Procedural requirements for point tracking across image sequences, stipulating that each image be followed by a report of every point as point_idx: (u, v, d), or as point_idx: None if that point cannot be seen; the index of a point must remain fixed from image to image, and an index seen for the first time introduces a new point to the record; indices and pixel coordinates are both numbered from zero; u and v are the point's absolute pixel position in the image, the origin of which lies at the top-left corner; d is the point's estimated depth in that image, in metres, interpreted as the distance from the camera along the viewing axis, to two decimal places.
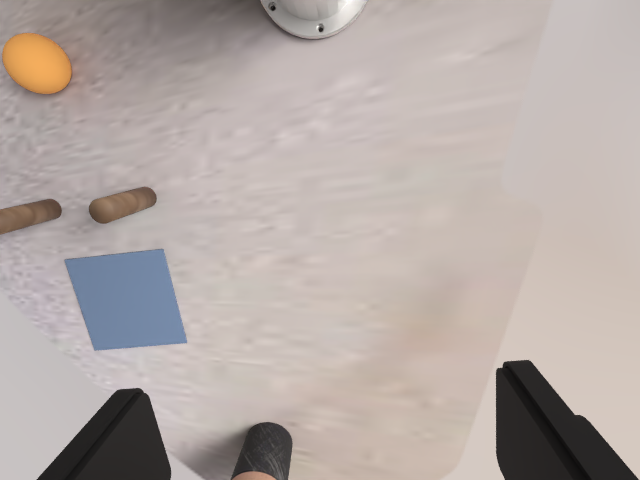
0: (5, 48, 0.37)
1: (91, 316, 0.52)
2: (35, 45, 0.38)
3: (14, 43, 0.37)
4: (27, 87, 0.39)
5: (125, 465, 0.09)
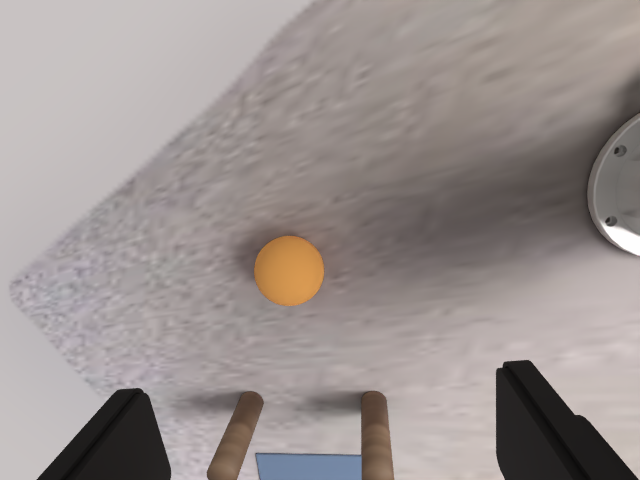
0: (268, 268, 0.29)
1: None
2: (306, 264, 0.29)
3: (283, 263, 0.29)
4: (279, 304, 0.31)
5: (125, 465, 0.09)
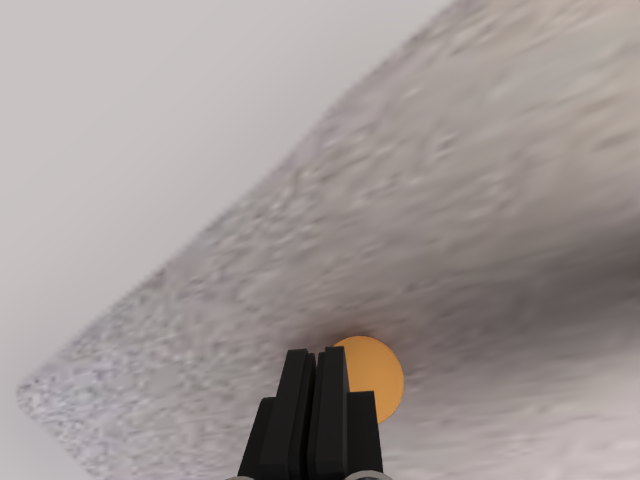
0: None
1: None
2: (388, 381, 0.24)
3: (362, 384, 0.23)
4: None
5: None
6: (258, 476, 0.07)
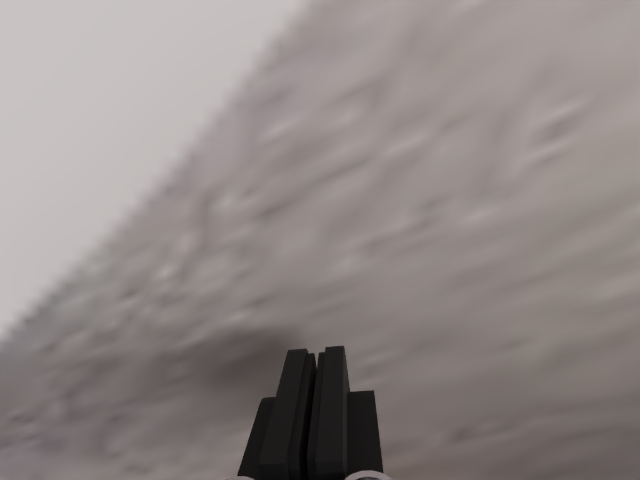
0: None
1: None
2: None
3: None
4: None
5: None
6: (258, 476, 0.07)
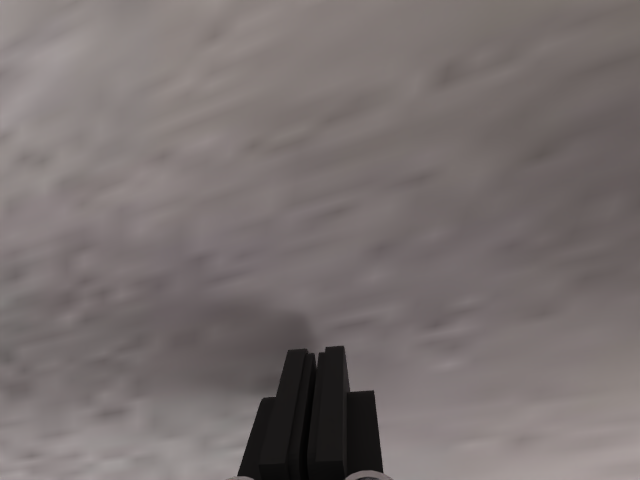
0: None
1: None
2: None
3: None
4: None
5: None
6: (258, 476, 0.07)
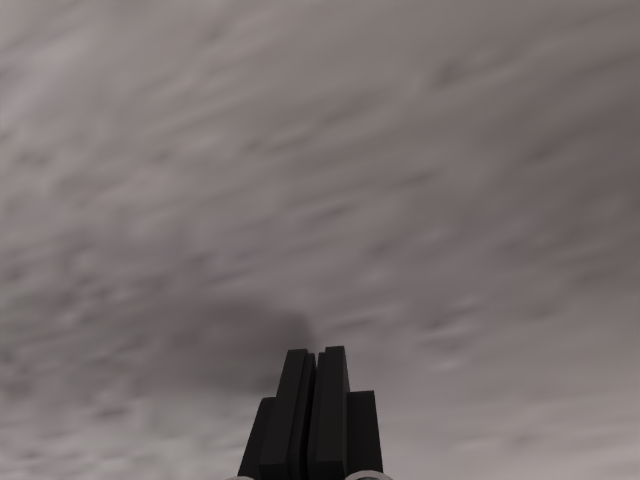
0: None
1: None
2: None
3: None
4: None
5: None
6: (258, 476, 0.07)
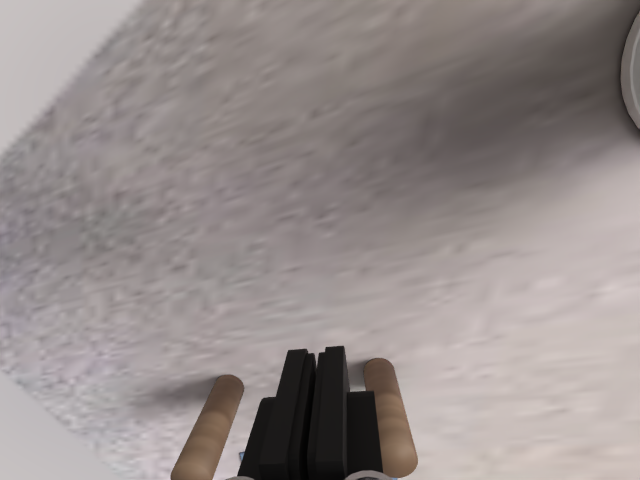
0: None
1: None
2: None
3: None
4: None
5: None
6: (258, 476, 0.07)
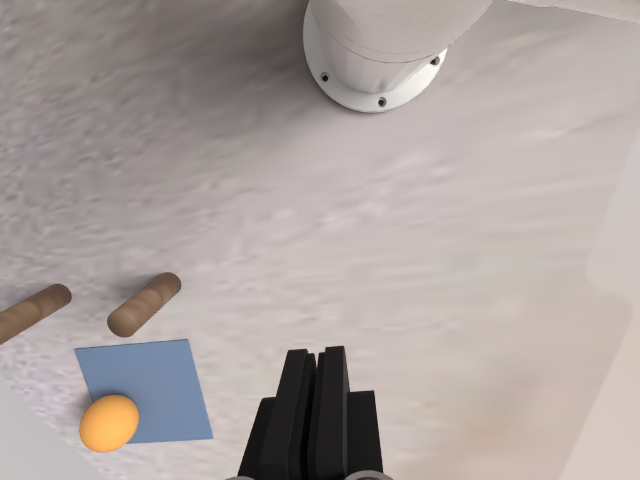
0: None
1: None
2: None
3: None
4: (97, 405, 0.41)
5: None
6: (258, 476, 0.07)
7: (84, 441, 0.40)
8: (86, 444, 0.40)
